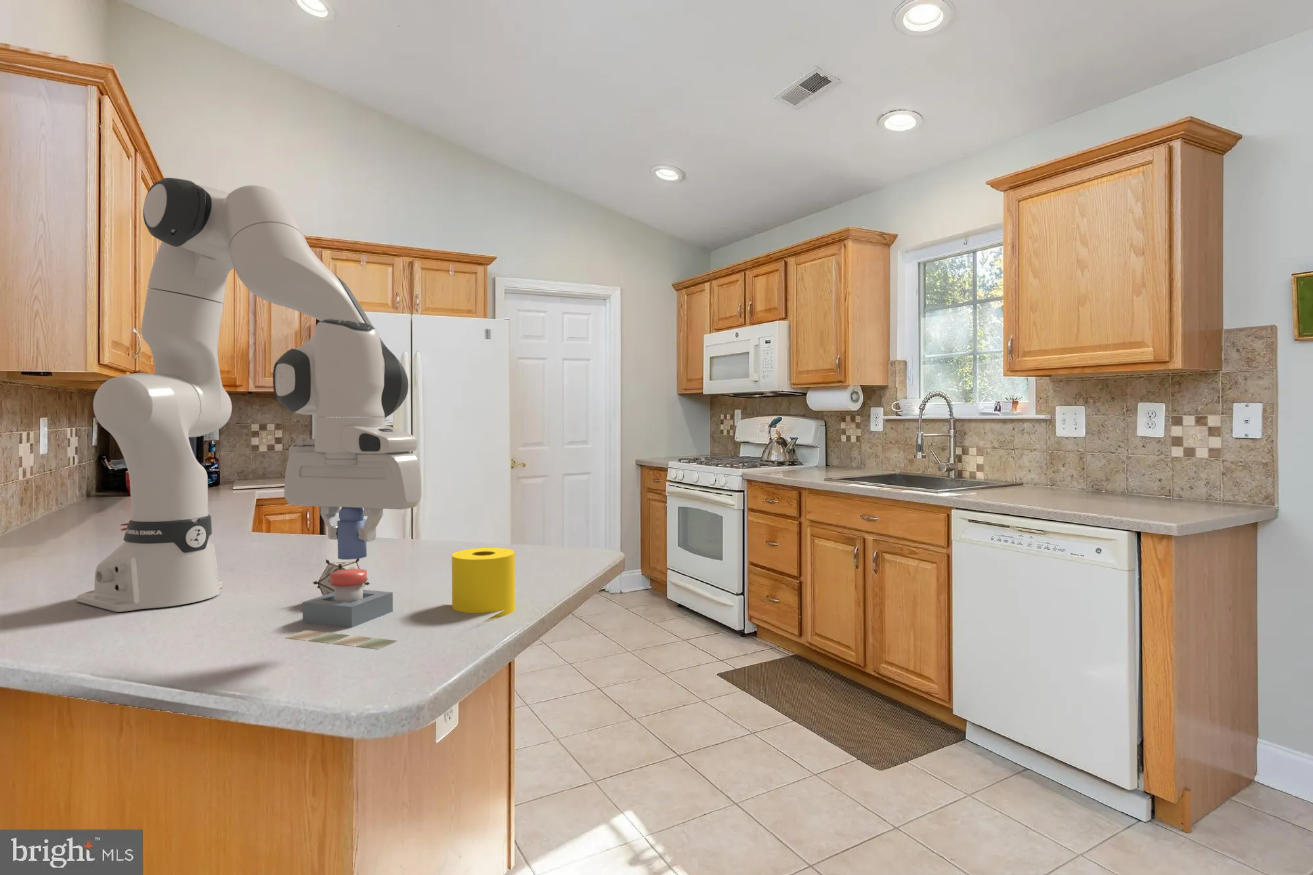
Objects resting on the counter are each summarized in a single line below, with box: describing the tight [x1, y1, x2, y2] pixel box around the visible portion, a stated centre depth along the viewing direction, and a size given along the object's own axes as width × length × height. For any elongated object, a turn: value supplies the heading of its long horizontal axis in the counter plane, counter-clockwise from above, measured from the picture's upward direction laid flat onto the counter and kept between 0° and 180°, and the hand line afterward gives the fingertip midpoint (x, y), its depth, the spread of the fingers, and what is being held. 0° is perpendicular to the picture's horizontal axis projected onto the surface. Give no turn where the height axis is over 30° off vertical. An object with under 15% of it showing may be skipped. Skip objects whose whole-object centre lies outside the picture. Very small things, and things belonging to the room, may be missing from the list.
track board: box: [285, 629, 397, 650], centre depth 97 cm, size 16×8×1 cm, turn 72°
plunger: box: [330, 568, 368, 603], centre depth 108 cm, size 5×5×7 cm
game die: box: [312, 558, 371, 596], centre depth 118 cm, size 9×8×10 cm
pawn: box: [337, 507, 368, 561], centre depth 96 cm, size 4×4×7 cm
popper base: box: [302, 589, 394, 629], centre depth 108 cm, size 9×9×4 cm
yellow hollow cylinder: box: [451, 547, 516, 619], centre depth 115 cm, size 10×10×9 cm
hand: (352, 539), depth 96 cm, fingers closed on pawn, 4 cm apart
